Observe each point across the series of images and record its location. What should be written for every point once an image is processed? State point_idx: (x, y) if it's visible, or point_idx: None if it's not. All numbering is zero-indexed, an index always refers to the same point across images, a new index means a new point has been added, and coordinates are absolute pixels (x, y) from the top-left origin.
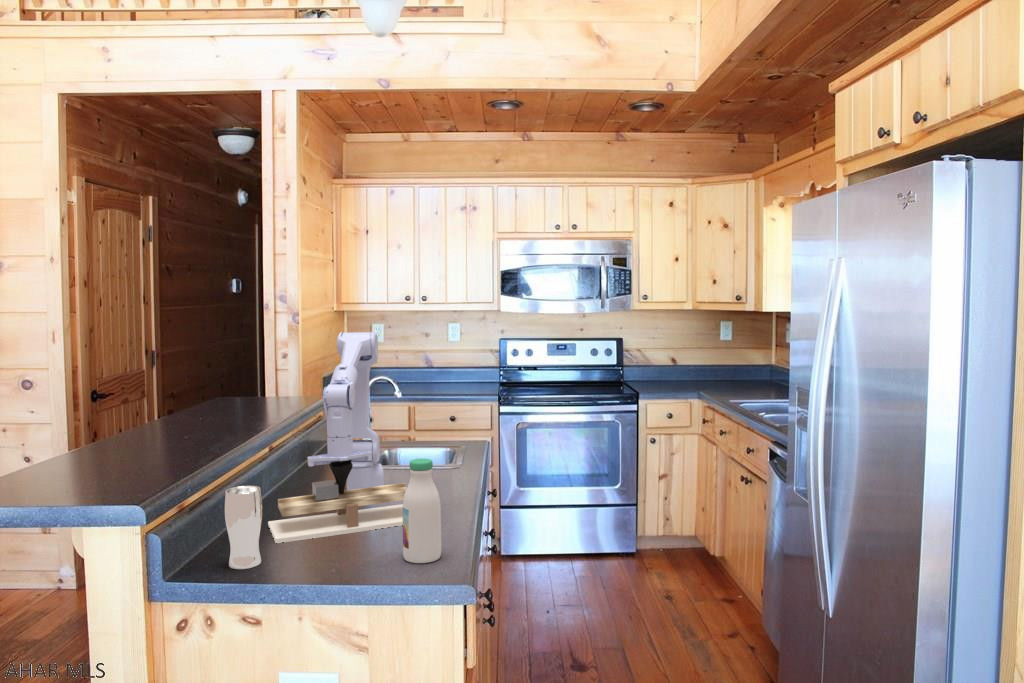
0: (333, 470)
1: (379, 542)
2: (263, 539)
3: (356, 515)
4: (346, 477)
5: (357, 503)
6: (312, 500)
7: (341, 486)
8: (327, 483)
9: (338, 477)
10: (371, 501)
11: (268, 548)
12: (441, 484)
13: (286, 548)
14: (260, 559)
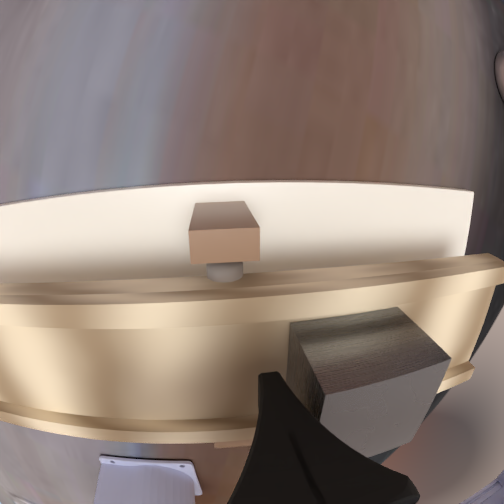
0: (402, 477)
1: (152, 25)
2: (472, 244)
3: (202, 215)
4: (260, 452)
5: (184, 283)
6: None
7: (285, 402)
8: (368, 424)
9: (331, 445)
10: (101, 288)
11: (480, 159)
12: (6, 460)
13: (451, 129)
14: (500, 62)
